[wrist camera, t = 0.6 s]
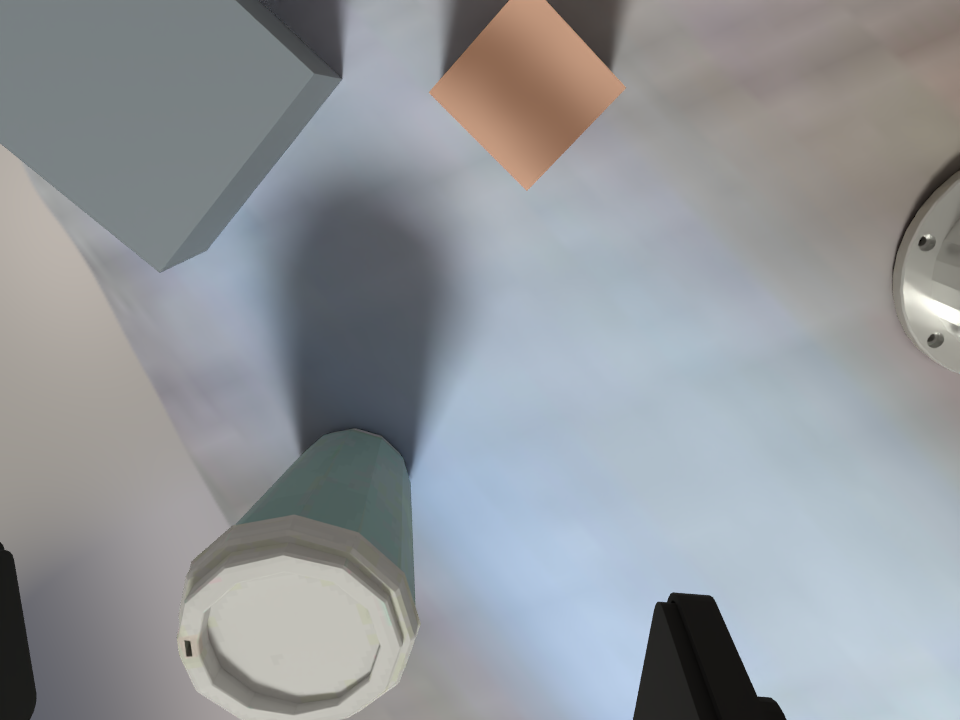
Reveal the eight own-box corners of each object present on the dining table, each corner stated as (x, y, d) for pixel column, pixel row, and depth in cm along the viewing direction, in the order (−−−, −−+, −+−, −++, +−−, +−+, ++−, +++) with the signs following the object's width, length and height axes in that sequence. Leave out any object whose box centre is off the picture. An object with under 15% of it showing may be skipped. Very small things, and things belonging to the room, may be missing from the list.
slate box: (149, -103, 34) (79, -145, 28) (343, 79, 37) (314, 73, 31) (21, 93, 37) (-64, 91, 32) (208, 249, 40) (159, 272, 34)
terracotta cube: (523, 0, 35) (527, -21, 29) (607, 91, 36) (626, 87, 31) (440, 94, 36) (428, 92, 31) (523, 178, 38) (527, 190, 32)
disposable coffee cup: (445, 402, 42) (416, 551, 28) (440, 557, 46) (413, 758, 32) (266, 393, 42) (147, 536, 28) (275, 548, 46) (174, 744, 32)
